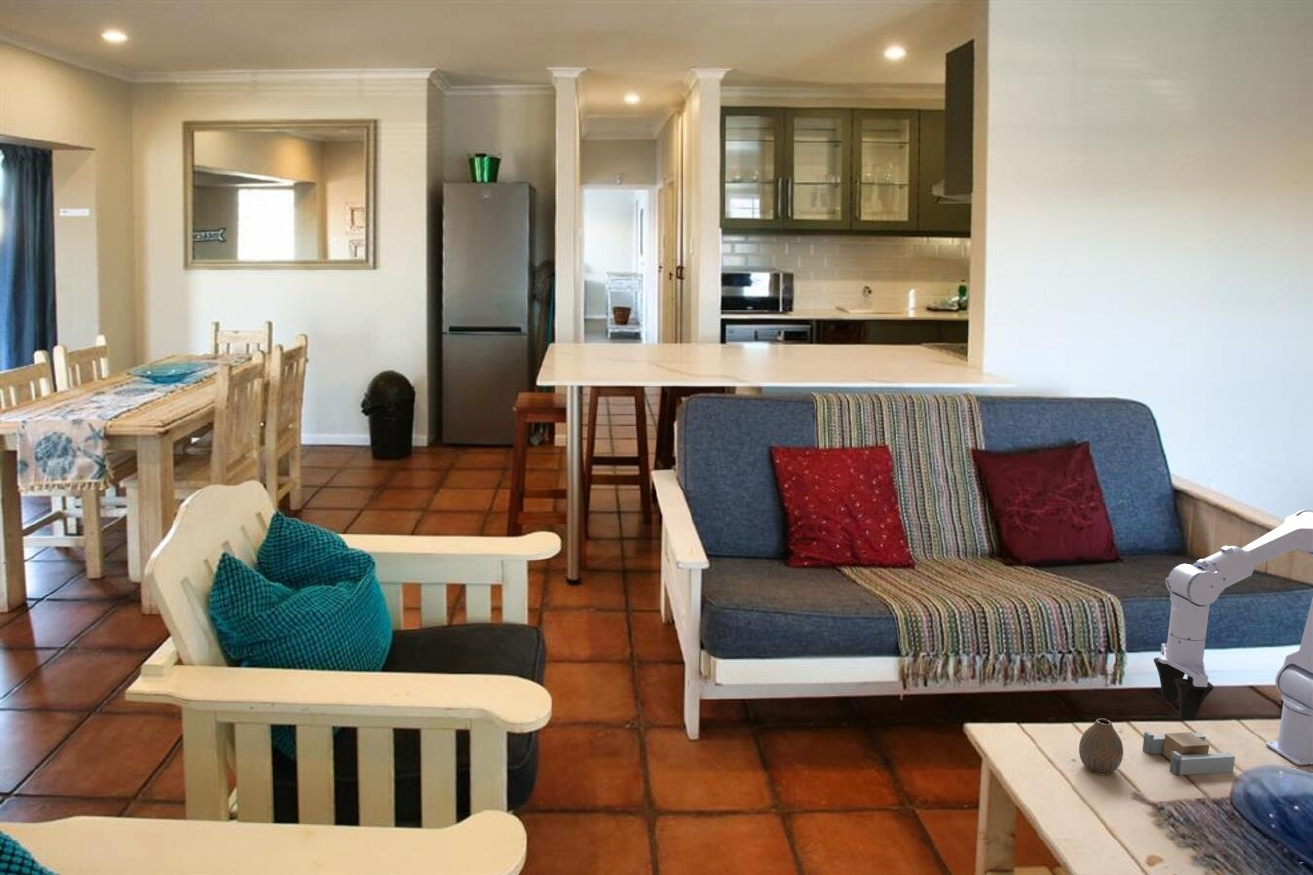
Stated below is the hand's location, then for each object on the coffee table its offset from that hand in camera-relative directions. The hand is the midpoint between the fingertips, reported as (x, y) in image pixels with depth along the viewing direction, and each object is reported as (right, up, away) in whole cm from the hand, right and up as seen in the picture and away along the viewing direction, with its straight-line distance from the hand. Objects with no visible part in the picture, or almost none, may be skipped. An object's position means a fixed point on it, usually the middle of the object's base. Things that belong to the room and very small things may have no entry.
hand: (1178, 709), depth 176 cm
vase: (-15, -10, -2) cm, 18 cm away
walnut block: (+2, -10, +2) cm, 10 cm away
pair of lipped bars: (+3, -10, +2) cm, 10 cm away
